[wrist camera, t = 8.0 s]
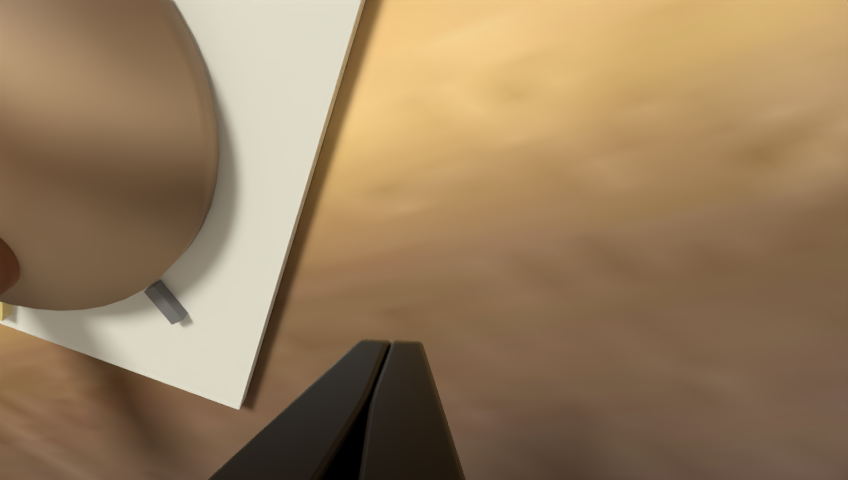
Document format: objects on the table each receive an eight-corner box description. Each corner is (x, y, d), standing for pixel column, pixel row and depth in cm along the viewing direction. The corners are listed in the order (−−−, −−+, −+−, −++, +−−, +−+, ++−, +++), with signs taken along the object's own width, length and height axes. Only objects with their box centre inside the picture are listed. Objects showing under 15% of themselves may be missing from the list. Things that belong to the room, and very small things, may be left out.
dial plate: (398, -110, 16) (390, -112, 15) (245, 397, 27) (234, 417, 26) (-394, -459, 15) (-467, -490, 14) (-222, 227, 26) (-255, 241, 25)
